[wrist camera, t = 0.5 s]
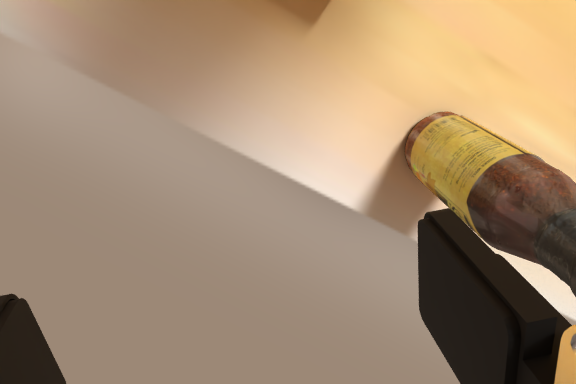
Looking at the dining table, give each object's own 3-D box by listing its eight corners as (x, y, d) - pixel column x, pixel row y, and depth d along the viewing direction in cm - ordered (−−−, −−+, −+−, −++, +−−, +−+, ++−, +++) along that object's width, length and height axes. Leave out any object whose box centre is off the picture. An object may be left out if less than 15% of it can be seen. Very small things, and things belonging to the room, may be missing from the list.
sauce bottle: (392, 173, 41) (533, 332, 23) (414, 102, 38) (591, 219, 20) (460, 182, 42) (642, 340, 24) (486, 114, 39) (710, 235, 22)
